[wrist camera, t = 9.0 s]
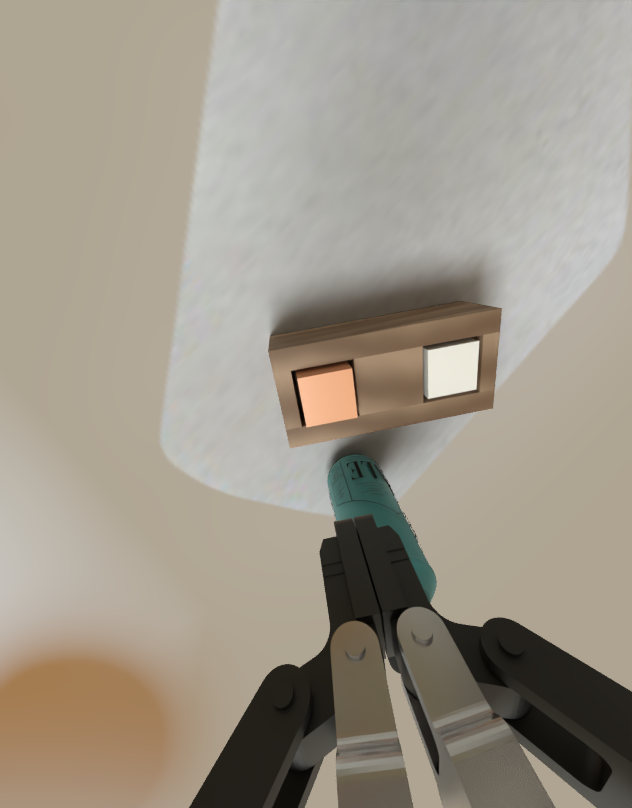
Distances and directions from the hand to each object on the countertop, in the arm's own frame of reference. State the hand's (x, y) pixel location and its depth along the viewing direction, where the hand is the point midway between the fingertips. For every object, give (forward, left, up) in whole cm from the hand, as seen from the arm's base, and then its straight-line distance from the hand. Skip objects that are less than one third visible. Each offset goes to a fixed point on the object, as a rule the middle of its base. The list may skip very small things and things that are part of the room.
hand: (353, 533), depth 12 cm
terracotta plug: (+1, +1, -19) cm, 19 cm away
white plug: (+1, +12, -20) cm, 23 cm away
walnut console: (0, +7, -21) cm, 22 cm away
